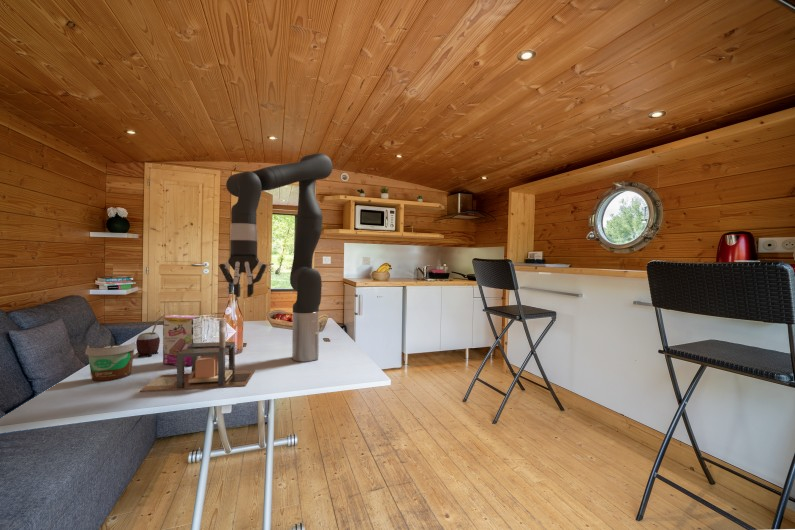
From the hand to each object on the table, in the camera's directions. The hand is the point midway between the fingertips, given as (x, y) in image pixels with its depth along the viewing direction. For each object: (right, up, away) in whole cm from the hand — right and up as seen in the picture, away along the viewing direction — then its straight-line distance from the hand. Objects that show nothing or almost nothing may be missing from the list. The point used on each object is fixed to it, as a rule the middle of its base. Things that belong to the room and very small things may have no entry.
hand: (243, 296), depth 105 cm
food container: (-40, -25, -1) cm, 47 cm away
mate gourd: (-46, -24, +24) cm, 57 cm away
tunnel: (-12, -25, -2) cm, 28 cm away
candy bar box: (-27, -25, +15) cm, 40 cm away
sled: (-9, -24, -1) cm, 26 cm away
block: (-10, -23, -1) cm, 25 cm away
